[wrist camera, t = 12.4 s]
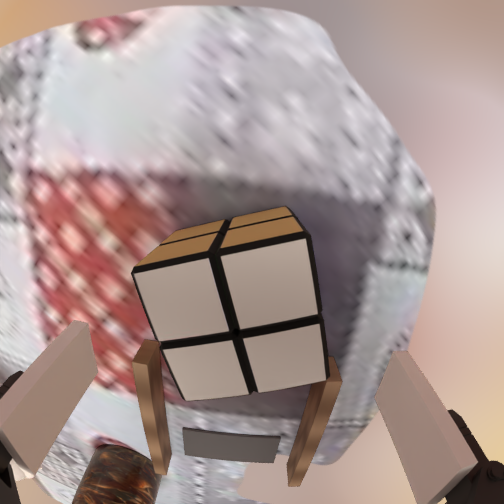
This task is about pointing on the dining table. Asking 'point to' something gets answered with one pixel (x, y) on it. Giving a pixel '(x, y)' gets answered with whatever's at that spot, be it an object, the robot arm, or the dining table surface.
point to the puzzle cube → (236, 306)
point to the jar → (118, 478)
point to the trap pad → (230, 446)
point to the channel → (156, 421)
